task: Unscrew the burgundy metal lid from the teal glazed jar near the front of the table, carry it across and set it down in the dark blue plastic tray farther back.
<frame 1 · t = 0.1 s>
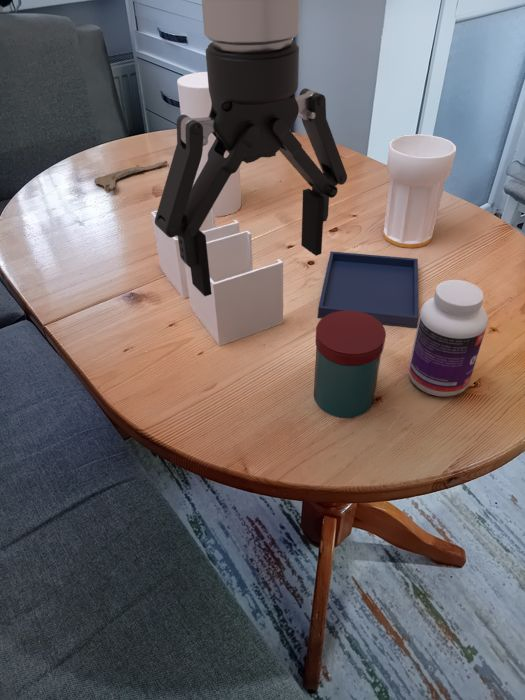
hand: (259, 268, 57), 21 cm above the table, tool pointing down, fingers open, 13 cm apart
jar: (343, 395, 72), on the table
lid: (350, 333, 65), point 11 cm above the table, screwed on, not yet turned
cup: (406, 237, 104), on the table
tan bone: (138, 180, 127), on the table
tray: (369, 291, 90), on the table
tall pillar cylinder: (216, 206, 116), on the table
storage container: (217, 294, 90), on the table
pill bottle: (437, 380, 74), on the table
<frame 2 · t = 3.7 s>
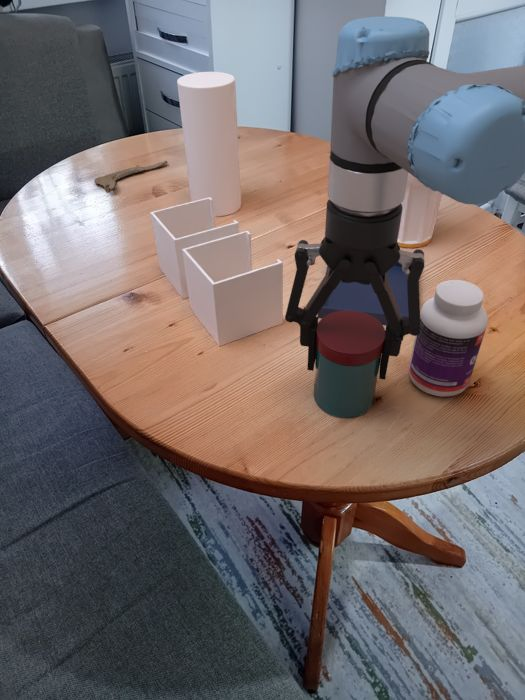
hand: (346, 367, 68), 5 cm above the table, tool pointing down, fingers closed on lid, 8 cm apart
lid: (350, 333, 65), point 11 cm above the table, screwed on, not yet turned, touching gripper
everything else where it was.
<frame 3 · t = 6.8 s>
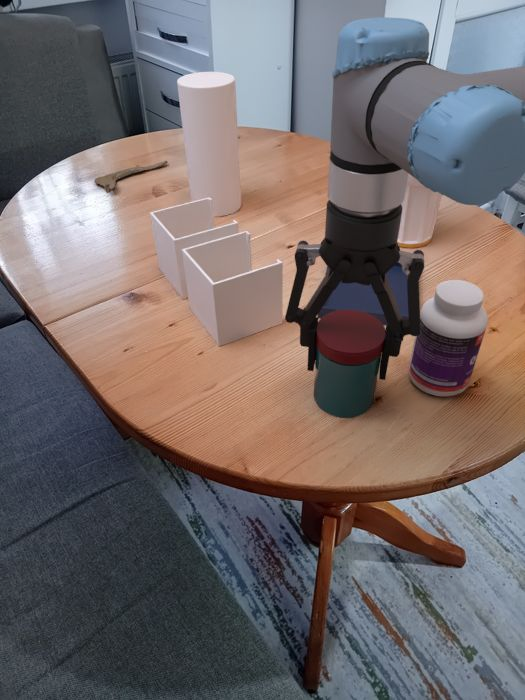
hand: (346, 367, 68), 5 cm above the table, tool pointing down, fingers closed on lid, 8 cm apart
lid: (350, 332, 65), point 11 cm above the table, turned 94° so far, risen 0.1 cm, still on its thread, touching gripper
everything else where it was.
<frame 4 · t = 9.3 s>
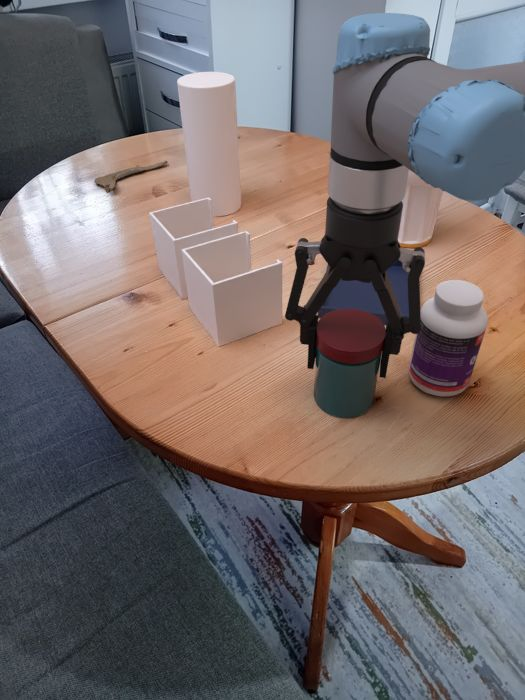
hand: (346, 365, 68), 5 cm above the table, tool pointing down, fingers closed on lid, 8 cm apart
lid: (350, 331, 64), point 11 cm above the table, turned 189° so far, risen 0.3 cm, still on its thread, touching gripper
everything else where it was.
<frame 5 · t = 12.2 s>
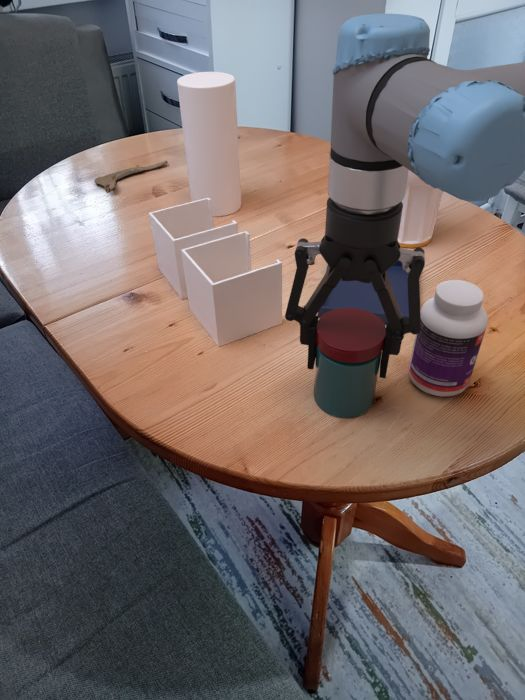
hand: (346, 366, 68), 5 cm above the table, tool pointing down, fingers closed on lid, 8 cm apart
lid: (350, 330, 64), point 11 cm above the table, turned 283° so far, risen 0.4 cm, still on its thread, touching gripper
everything else where it was.
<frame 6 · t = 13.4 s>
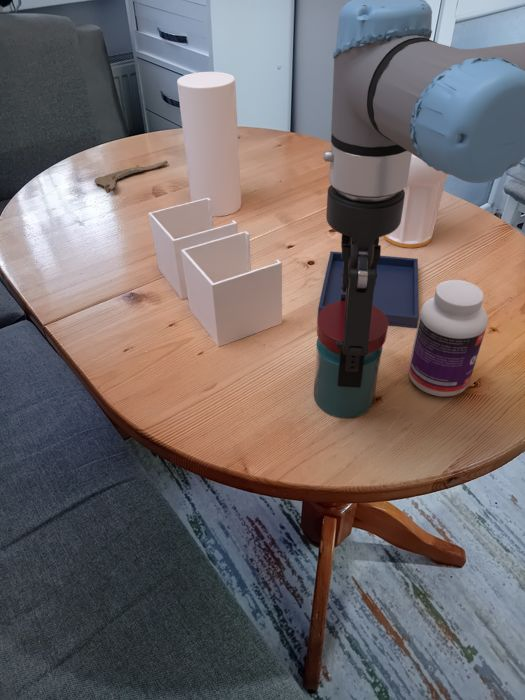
hand: (348, 359, 67), 7 cm above the table, tool pointing down, fingers closed on lid, 8 cm apart
lid: (352, 323, 63), point 12 cm above the table, off its thread, touching gripper
everything else where it was.
when the fingers open (3 cm above the table, at t = 21.5 s): lid drops 6 cm, resting on tray.
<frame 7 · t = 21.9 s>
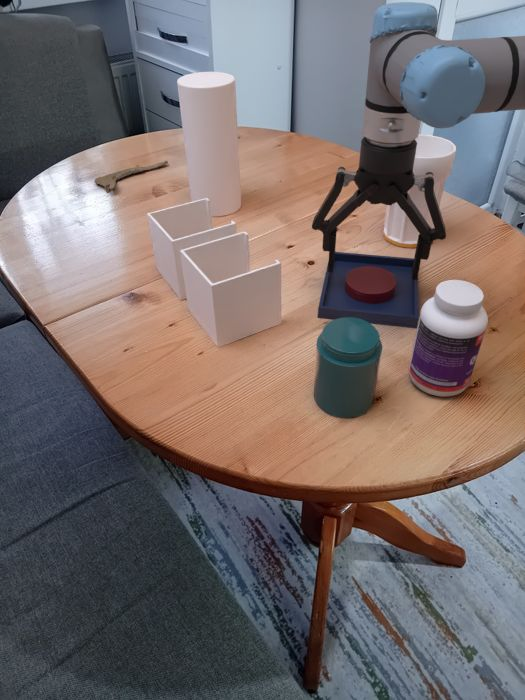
hand: (372, 271, 87), 4 cm above the table, tool pointing down, fingers open, 13 cm apart
lid: (370, 281, 88), point 2 cm above the table, off its thread, touching tray
everything else where it was.
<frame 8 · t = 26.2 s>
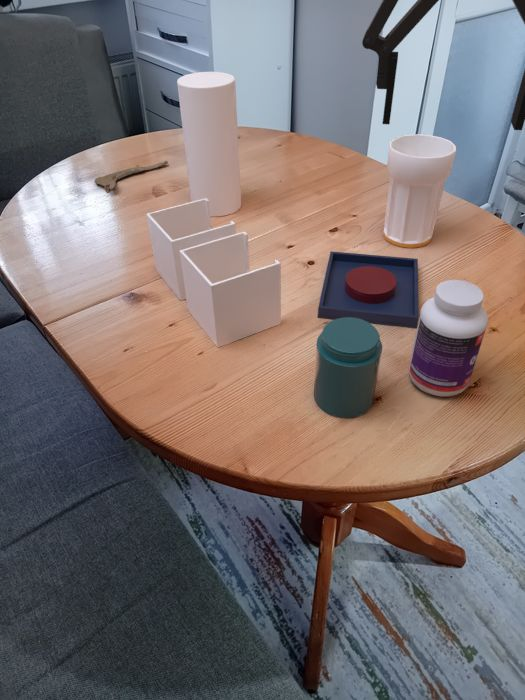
hand: (449, 123, 58), 32 cm above the table, tool pointing down, fingers open, 13 cm apart
nothing on the table moved.
at the end: lid came off its thread; lid inside the target area on the tray (0.0 cm from its centre), point 2.0 cm above the tray's base; the gripper is holding nothing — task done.
